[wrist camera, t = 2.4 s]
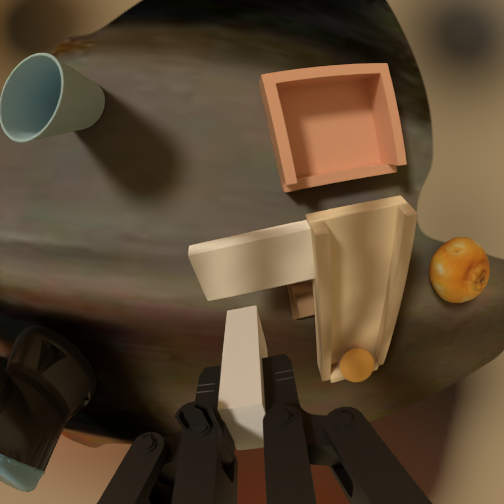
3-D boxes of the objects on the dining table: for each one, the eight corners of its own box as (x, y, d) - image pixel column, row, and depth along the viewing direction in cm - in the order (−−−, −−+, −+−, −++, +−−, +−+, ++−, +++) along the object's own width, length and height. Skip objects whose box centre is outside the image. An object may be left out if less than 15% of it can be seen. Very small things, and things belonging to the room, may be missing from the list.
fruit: (465, 213, 29) (484, 263, 24) (487, 249, 32) (503, 297, 26) (414, 245, 35) (423, 296, 30) (441, 275, 37) (450, 323, 32)
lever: (247, 377, 36) (249, 399, 34) (187, 240, 23) (183, 268, 20) (376, 347, 35) (384, 367, 33) (400, 195, 22) (420, 217, 19)
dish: (282, 189, 30) (288, 196, 26) (258, 84, 27) (261, 74, 22) (387, 169, 30) (407, 174, 26) (369, 72, 26) (386, 63, 22)
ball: (336, 368, 34) (344, 392, 30) (335, 346, 32) (344, 371, 29) (366, 359, 34) (377, 383, 30) (368, 337, 32) (380, 361, 28)
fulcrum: (292, 316, 35) (298, 339, 31) (281, 262, 33) (288, 281, 29) (385, 292, 35) (402, 311, 30) (383, 239, 33) (402, 253, 28)
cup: (116, 66, 25) (67, 41, 15) (115, 133, 28) (62, 132, 18) (59, 80, 25) (2, 68, 15) (58, 143, 28) (-1, 150, 18)
